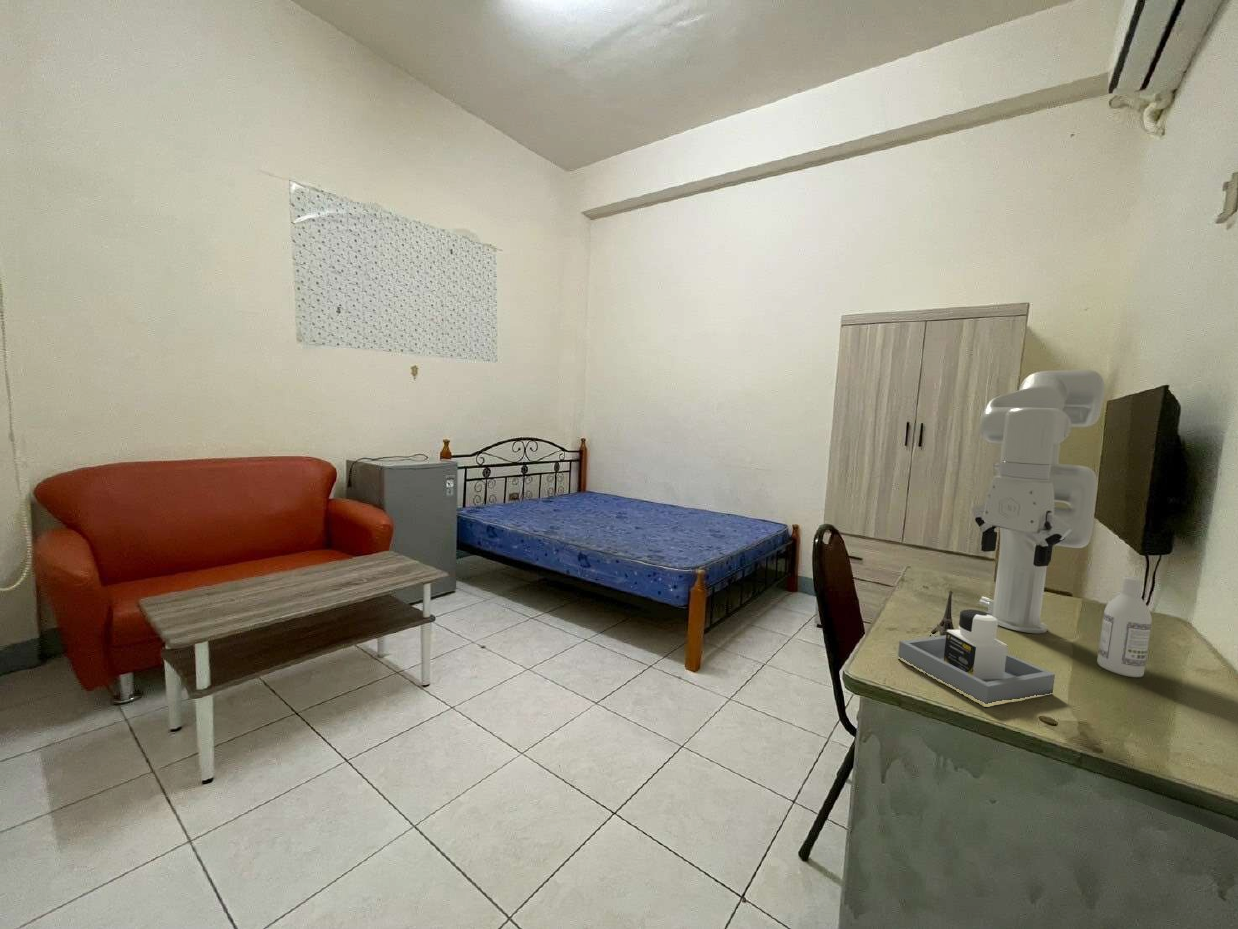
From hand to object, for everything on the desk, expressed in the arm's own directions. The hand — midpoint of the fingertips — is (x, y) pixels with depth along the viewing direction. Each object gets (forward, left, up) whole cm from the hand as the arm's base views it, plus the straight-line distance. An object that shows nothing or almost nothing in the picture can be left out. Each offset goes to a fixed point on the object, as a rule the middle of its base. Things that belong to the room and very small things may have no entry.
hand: (1013, 558), depth 95 cm
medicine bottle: (-1, -6, -24) cm, 24 cm away
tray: (-1, -6, -24) cm, 25 cm away
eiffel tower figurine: (-15, +5, -25) cm, 30 cm away
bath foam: (+5, +30, -25) cm, 39 cm away
